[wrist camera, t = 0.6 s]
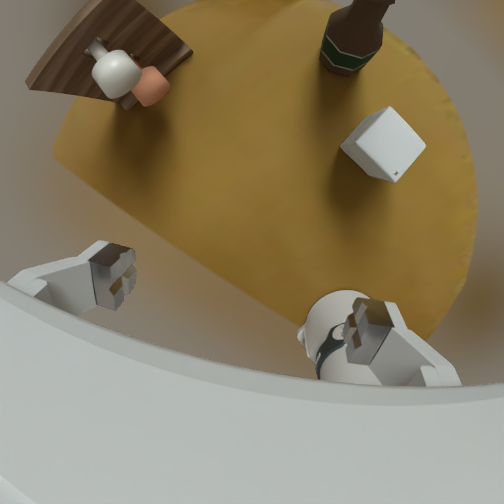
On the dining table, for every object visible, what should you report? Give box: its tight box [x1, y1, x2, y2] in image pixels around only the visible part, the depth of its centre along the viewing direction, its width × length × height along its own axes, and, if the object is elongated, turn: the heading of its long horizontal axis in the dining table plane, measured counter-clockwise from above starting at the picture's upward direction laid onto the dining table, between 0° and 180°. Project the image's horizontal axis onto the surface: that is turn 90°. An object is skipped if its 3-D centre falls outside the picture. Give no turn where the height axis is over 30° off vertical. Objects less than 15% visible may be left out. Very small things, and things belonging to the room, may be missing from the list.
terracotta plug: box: [129, 55, 170, 107], centre depth 33 cm, size 10×5×5 cm, turn 38°
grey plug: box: [87, 38, 142, 99], centre depth 25 cm, size 10×5×5 cm, turn 38°
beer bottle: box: [319, 0, 395, 76], centre depth 26 cm, size 8×8×24 cm
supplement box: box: [340, 106, 426, 183], centre depth 36 cm, size 7×7×13 cm
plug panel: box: [25, 0, 193, 111], centre depth 30 cm, size 6×16×24 cm, turn 128°
